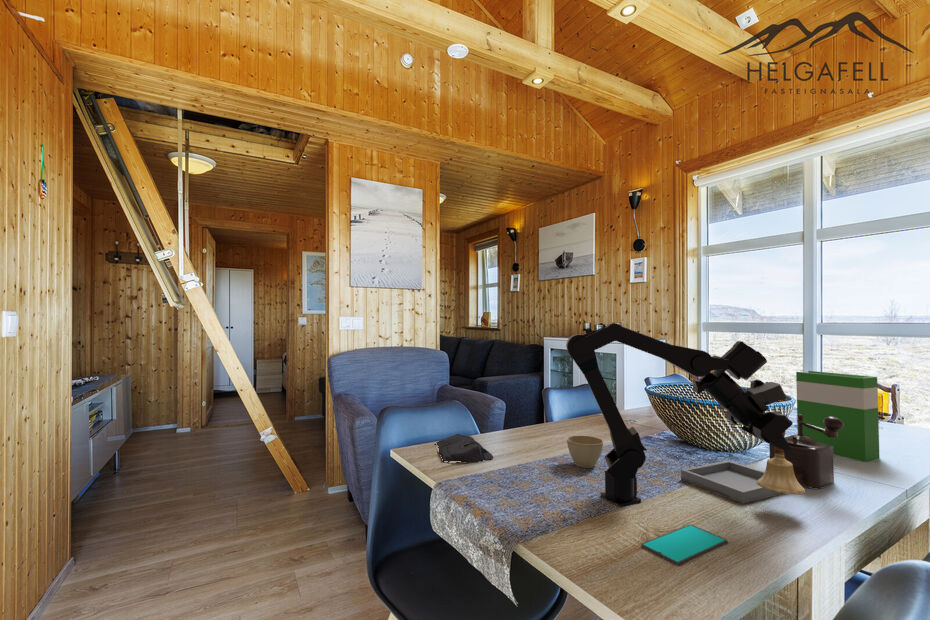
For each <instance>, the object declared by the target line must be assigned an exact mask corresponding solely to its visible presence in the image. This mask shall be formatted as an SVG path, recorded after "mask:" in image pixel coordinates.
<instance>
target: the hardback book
mask: <svg viewBox="0 0 930 620" xmlns="http://www.w3.org/2000/svg"><path fill="white" fill-rule="evenodd" d="M795 373H796V375H795V376H796V377H795V379H796V419H797V420H798V415H799V414H801V415H803V417H804V418H803V420H804V422H805V423H807V424H809V425H813V426H816V427H819V428H821V429H824V430H825V429H826V427H825V425H824V423H823V420H824V418H826V417H829V416H833V417H837V418H839V419H840V420H842V421H843V423H844V427H843V429H841V430H839V431H838V432H837V435H838V437H837V438H833V437H830V438H829V437H828V436H827V435H825V434H824V433H822V432H820V431H817V430H814V429H811V428H808V427H806V426H804V425H803V434H804V436H807V437H810V438H812V439H814V440H815V441H816V442H819V443H823V444H828V445H832V446H833V456H839V457H843V458H847V459H850V460H855V461H859V462H864V463H869V462H872V461H873V462H874V461H876V460H880V459H881V458H880V431H879V430H880V428H879V427H880V426H879V425H880V424H879V423H880V422H879V396H878V395H879V394H878V393H879V391H878V389H879V388H878V376H870V375H861V374H860V375H859V374H858V375H857V374H850V373H849V374H848V373H838V372H827V371H826V372H825V371H816V370H808V371H807V372H806V371H795ZM797 420H796V426H797V428H796V429H797V432H798V431H799V424H798V422H797Z"/></svg>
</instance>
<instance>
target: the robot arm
mask: <svg viewBox="0 0 930 620" xmlns="http://www.w3.org/2000/svg"><path fill="white" fill-rule="evenodd" d="M613 342H617V343H621V344H623V345H626V346H629V347H630V348H634V349H636V350H638V351H641V352H644V353H647V354H649V355H652V356H655V357H657V358H660V359H662V360H664V361H666V362H667V363H668V364H670V365H672V366H674V367H676V368H677V369H679V370H681V371H682V372H684V373H686V374H689V375H692V376H695V377H698V378H700V379H693V380H692V391H693V392H694V393H696V394H698V395H700V394H701V393H703V392H704V391H706V393H707V394H709V395H710V396H711V397H712V398H713V399H714V400H715V401H716V402H717V403H718V406H719V407H721V409H723V410H725V412H724V418H725V419H726V420H727V421H729V422H730V424H732V425H734V426H737V425H738V423H739V424H740V425H742V427H741V430H743V432H746V433H748V434H750V435H752V436H753V437H754V438H757V439H759V440H761V441H763V442H765V443H766V444H768V445H769V444H771V445H774V446H776V447H778V448H780V449H782V450H784V451H787V452H788V451H789V450H790V449H791V447H790V446H789V444H788V442H787V441H786V439H785V438H784V436H783V434H782V433H783V432H785V431H788V429H790V428H791V427H792V426H793V421H792V420H791V419H790V418H789V417H788V416H787V415H785V414H783V413H781V414H780V413H778V412H774V411H769V412H767V411H768V410H769V409H770V408H769V406H768V405H771V404H773V403H776V402H779V401H785V400H787V399H788V396H787V395H786V393H785V391H784V389H783V387H782V385H781V383H779V382H774V381H765V383H764V381H762V380H760V379H758V378H756V379H753V380H751V381H750V384H749V385H750V388H749V389H744V388H743V387H741V385H740V384H739V383H738V382H736V380H737V381H739V380H740V379H743V380H745V381H747V380H748V379H750V378H751V377H752V376H753V375H754V374H756V372H757V371H759V370H760V369H761V368H762V367H763V366H765V365H766V364H767V363H768V360H767V358H766V357H765V356H764V355H763V354H762V353H761V352H760V351H758V350H756V349H755V348H753V347H751V346H749V344H746V343H745V342H744V341H740V340H737V341H736V342H735V343H734V344H733V345H732V346H731V348H730V349H728V350H727V351H726V352H725V353H724V354H723V355H722V356H718V355H713V356H712V355H711V354H710V353H708V352H706V351H704V350H700V349H697V348H696V349H695V348H690V347H684V346H680V345H677V344H676V345H675V344H672V343H671V344H670V343H667V342H665V341H663V340H660V339H658V338H654V337H651V336H649V335H646V334H645V333H640V332H638V331H635V330H632V329H629V328H627V327H624V326H623V325H621V324H619V323H614V322H611V323H608V324H606V325H604V326H603V327H601V328H599V329H596V330H593V331H591V332H588V333H586V334H582V333H581V334H580V333H576V334H573V335H571V336H570V337H569V338H568V339H567V341H566V343H565V344H566V345H565V348H566V350H567V351H566V352H568V354H569V355H570V357H571V358H572V360H573V362H575V364H576V365H577V368H578V369H580V371H581V372H582V374H583V375H584V378H585V380H586V382H587V385H588V387H589V388H590V391H591V393H592V395H593V398H594V400H595V401H596V403H597V405H598V407H599V410H600V412H601V414H602V416H603V419H604V420H605V423H606V425H607V427H608V431H609V435H610V439H611V440H610V441H611V444H612V446H613V449H611V450H610V451H609V452H608V453H606V455H604V459H605V463H606V464H607V465H606V466H607V467H608V468H607V470H605V471H604V492H601V493H600V497H602V498H604V499H606V500H608V501H610V502H612V503H613V504H615V505H618V506H619V507H622V506H628V505H632V504H637V503H640V502H642V498H641V497H638V478H637V473H638V470H639V469H640V468H642V466H644V465H645V462H646V459H647V456H646V453H645V451H647V448H646V447H645V445H644V444H643V442H642V440H641V437H640V433H639V431H637V429H636V428H635V427H634V426H631V427H629V428H628V427H627V425H626V424H625V422H624V419H623V417H622V415H621V413H620V411H619V408H618V406H617V405H616V403H615V400H614V398H613V396H612V394H611V392H610V390H609V388H608V385H607V383H606V381H605V379H604V376H603V375H602V373H601V370H600V368H599V363H598V359H597V354H596V351H597V350H598V349H601V348H603V347H606V345H609V344H612V343H613ZM733 378H734V379H735V380H734V379H733ZM785 433H786V432H785Z"/></svg>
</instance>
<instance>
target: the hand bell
mask: <svg viewBox="0 0 930 620" xmlns="http://www.w3.org/2000/svg"><path fill="white" fill-rule="evenodd" d="M773 412H778V413H780V414H782V411H777V410H775V411H774V410H773ZM786 431H787V430H786ZM786 431H785V432H783V433H782V434H783V436H784V437H786V433H787V432H786ZM774 449H775V450H774V453H775V456H774V458H771V459H770V458H769V459H767V460H766V466H765V467H766V468H765V471H764V472H765V473H764V475H763V476H762V477H761V478H760V479H758V481H757V484H758V485H759V486H761V487H763V488H765V489H768V490H771V491H775V492H780V493H782V494H787V495H801V494H804V493H805V492H806V490H805V488H804V486H801V485H800V484H799V483H798V481H797V479H796V477H795V474H794V470H793V465H792V463H791V462H789V461H787V460H786V459H785V458H784V450H782V449H780V448H778V447H776V446H774Z"/></svg>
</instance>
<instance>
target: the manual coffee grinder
mask: <svg viewBox="0 0 930 620" xmlns="http://www.w3.org/2000/svg"><path fill="white" fill-rule="evenodd" d="M803 418H804V417H803V415H801V414H799V415H798V420H796V423H797V422H798V424H799V431H797V433H796V434H791V435H789V436H788V435H787V436H785V437H784V438H785V439H786V441H787V442H788V444H789V446H790V447H791V449H790V450H789V451H788V452H787V451H784V458H785V459H786V460H787V461H789V462H791V463H792V465H793V470H794V474H795V477H796V479H797V481H798V483H799V484H800V485H801V486H802V487H806V488H810V489H813V490H818V489H823V488H826V487H829V486H831V485H832V484H834V482H835V473H834V472H835V471H834V465H835V463H834V462H835V461H834V454H833V446H832V445H828V444H823V443H819V442H816V441H815V440H814V439H812V438H810V437H807V436H804V434H803V425H804V426H806V427H808V428H811V429H814V430H817V431H820V432H822V433H824V434H825V435H827V436H828V437H829V438H830V437H833V438H837V437H838V435H837V432H838V431H839V430H841V429H843V427H844V423H843V421H842V420H840V419H839V418H837V417H833V416H829V417H826V418H824V420H823V423H824V425H825V427H826V429H825V430H824V429H821V428H819V427H816V426H813V425H809V424H807V423H805V422H804V420H803ZM768 445H769V446H768V447H769V449H768V450H769V459H771V458H774V456H775V453H774V450H775V449H774V445H771V444H769V443H768Z"/></svg>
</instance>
